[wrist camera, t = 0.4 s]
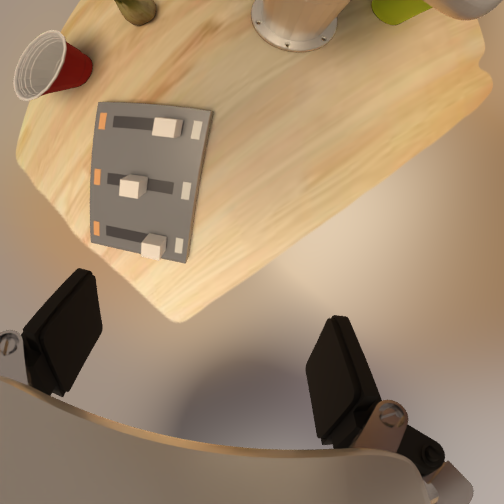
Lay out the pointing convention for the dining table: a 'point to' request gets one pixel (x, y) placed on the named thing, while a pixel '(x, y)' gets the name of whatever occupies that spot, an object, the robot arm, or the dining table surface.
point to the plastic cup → (50, 67)
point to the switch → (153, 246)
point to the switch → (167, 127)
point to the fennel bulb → (137, 10)
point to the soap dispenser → (398, 10)
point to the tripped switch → (133, 186)
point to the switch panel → (152, 166)
